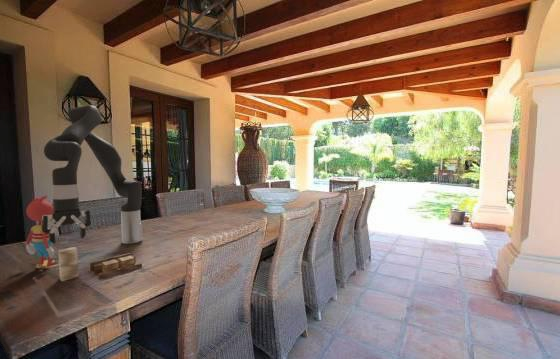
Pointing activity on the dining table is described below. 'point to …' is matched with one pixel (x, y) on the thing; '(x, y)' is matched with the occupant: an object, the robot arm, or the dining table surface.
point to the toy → (40, 232)
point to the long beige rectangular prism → (68, 263)
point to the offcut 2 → (126, 261)
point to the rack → (97, 270)
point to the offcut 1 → (109, 265)
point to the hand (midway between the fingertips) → (68, 240)
